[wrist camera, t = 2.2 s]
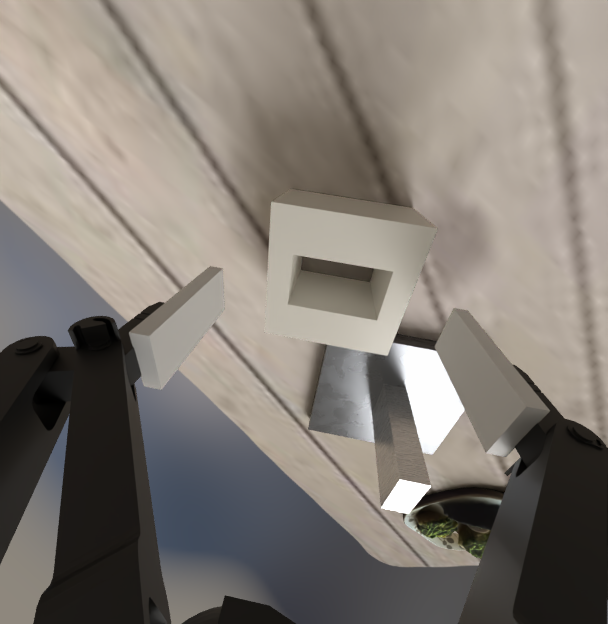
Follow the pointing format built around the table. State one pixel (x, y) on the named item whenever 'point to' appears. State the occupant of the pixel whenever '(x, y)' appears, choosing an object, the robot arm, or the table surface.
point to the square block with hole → (350, 250)
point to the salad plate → (456, 518)
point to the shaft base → (365, 384)
